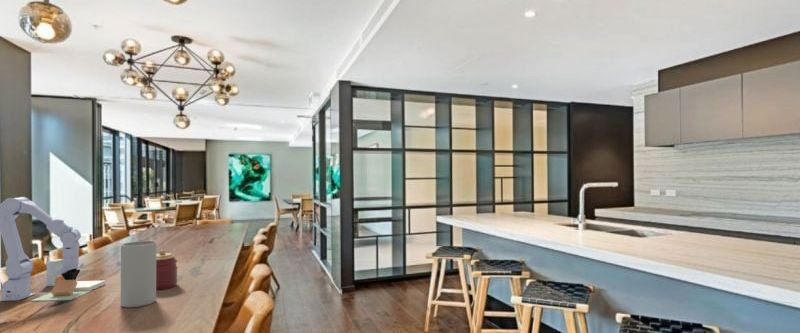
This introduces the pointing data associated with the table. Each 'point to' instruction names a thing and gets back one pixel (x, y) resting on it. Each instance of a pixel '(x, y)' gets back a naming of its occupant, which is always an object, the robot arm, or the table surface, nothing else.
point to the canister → (166, 270)
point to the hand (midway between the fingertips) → (70, 286)
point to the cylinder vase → (138, 273)
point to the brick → (64, 287)
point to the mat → (56, 298)
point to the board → (88, 285)
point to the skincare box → (53, 272)
